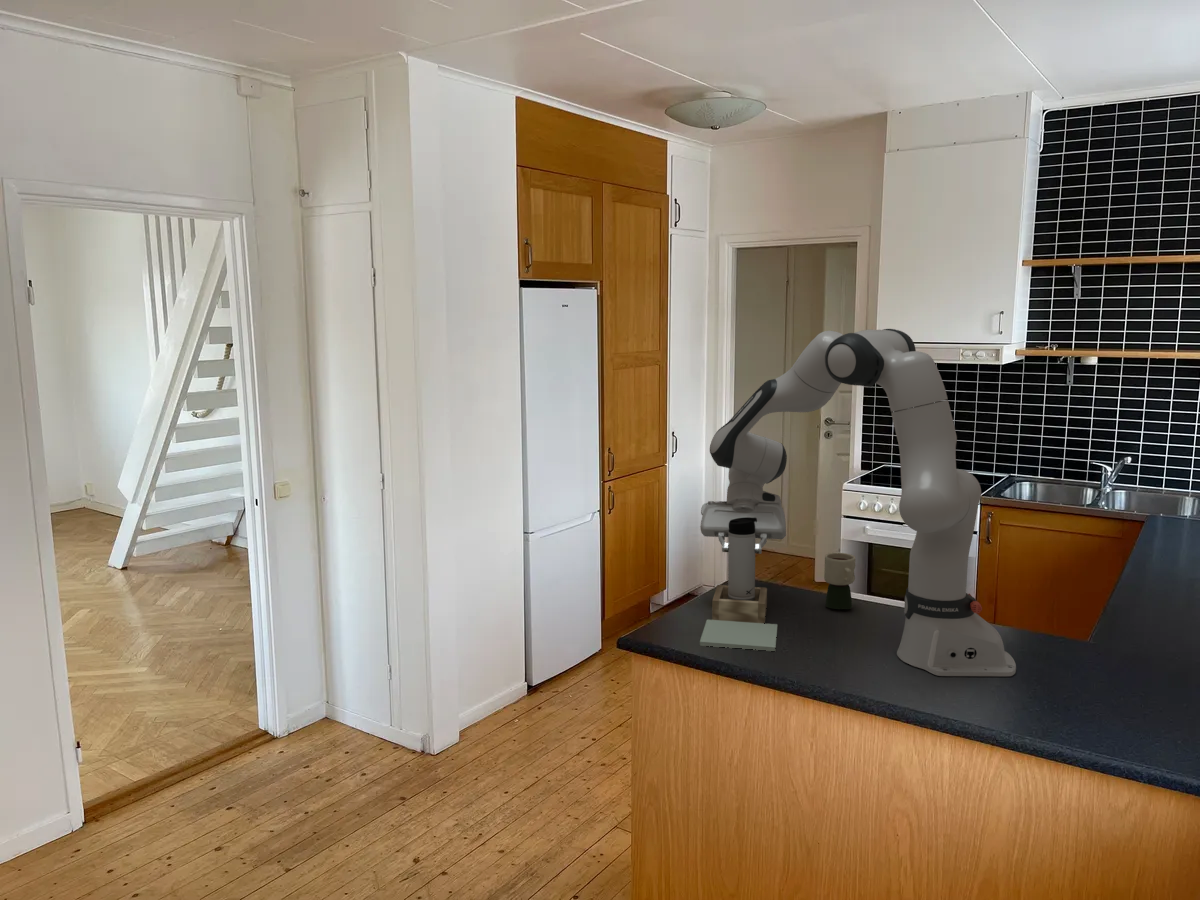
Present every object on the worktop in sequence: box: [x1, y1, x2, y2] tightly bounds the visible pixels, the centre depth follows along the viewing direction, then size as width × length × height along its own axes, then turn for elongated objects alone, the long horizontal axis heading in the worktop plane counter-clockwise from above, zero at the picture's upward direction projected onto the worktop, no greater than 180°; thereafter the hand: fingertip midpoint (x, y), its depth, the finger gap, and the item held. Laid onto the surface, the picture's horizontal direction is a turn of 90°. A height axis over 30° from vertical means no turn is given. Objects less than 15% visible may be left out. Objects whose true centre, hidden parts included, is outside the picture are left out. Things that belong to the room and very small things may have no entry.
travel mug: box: [727, 517, 757, 601], centre depth 205 cm, size 6×7×20 cm
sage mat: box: [699, 619, 778, 652], centre depth 193 cm, size 16×14×1 cm
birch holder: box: [711, 584, 768, 624], centre depth 207 cm, size 12×12×5 cm
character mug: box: [823, 552, 856, 611], centre depth 210 cm, size 11×7×13 cm, turn 10°
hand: (741, 551), depth 204 cm, fingers closed on travel mug, 6 cm apart
